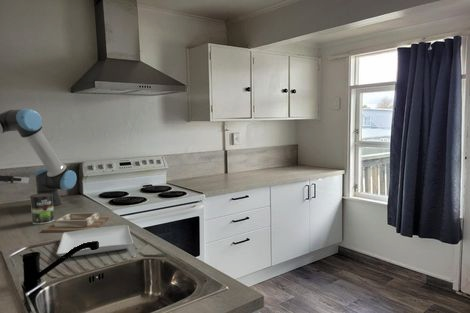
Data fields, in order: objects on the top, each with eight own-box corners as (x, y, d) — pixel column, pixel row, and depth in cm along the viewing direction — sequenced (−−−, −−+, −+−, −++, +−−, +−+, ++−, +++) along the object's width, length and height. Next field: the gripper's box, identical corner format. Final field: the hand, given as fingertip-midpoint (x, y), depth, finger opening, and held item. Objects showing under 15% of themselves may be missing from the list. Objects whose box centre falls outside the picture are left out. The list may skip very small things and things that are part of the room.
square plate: (63, 240, 156) (62, 231, 155) (128, 232, 165) (128, 223, 165) (56, 262, 130) (55, 252, 130) (134, 251, 140) (133, 241, 140)
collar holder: (65, 218, 191) (64, 211, 190) (110, 217, 191) (110, 210, 190) (41, 232, 167) (40, 224, 166) (93, 231, 167) (92, 222, 166)
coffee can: (57, 221, 185) (55, 194, 184) (34, 225, 178) (32, 197, 177) (51, 217, 193) (49, 192, 191) (30, 221, 186) (27, 195, 185)
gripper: (-29, 184, 177) (20, 187, 190) (-25, 184, 158) (29, 188, 171) (-27, 169, 178) (22, 173, 191) (-22, 167, 159) (32, 172, 172)
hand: (26, 180), depth 181 cm, fingers open, 13 cm apart
